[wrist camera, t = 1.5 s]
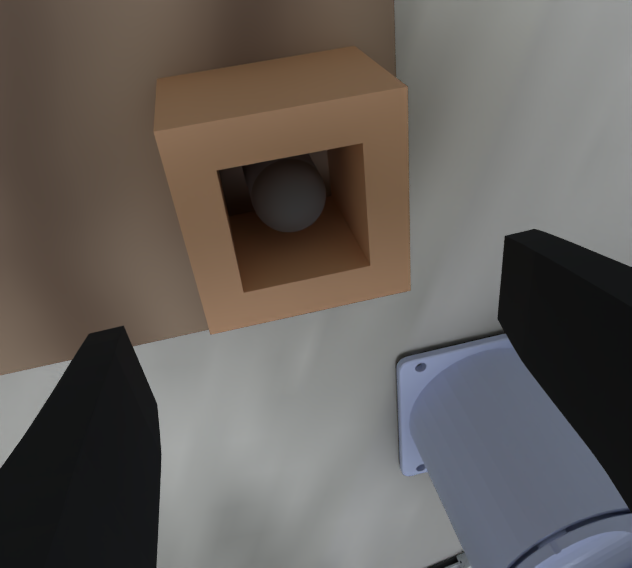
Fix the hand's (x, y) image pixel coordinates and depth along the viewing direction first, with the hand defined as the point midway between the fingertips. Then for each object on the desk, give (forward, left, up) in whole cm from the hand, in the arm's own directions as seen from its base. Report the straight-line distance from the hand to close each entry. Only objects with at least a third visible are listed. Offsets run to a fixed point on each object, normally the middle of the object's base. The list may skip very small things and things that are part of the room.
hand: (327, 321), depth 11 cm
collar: (0, 0, -8) cm, 8 cm away
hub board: (+6, 0, -10) cm, 11 cm away
